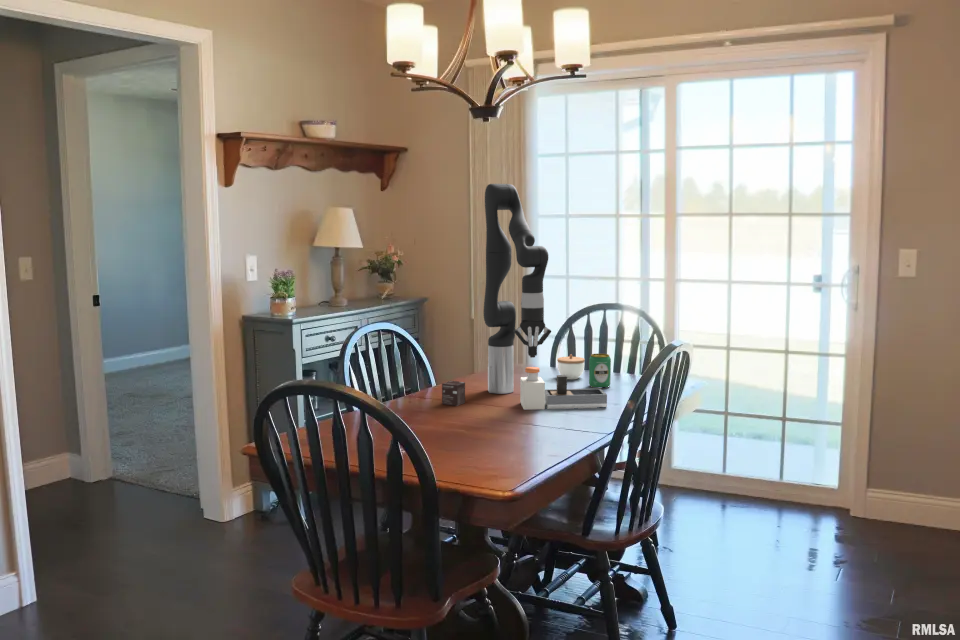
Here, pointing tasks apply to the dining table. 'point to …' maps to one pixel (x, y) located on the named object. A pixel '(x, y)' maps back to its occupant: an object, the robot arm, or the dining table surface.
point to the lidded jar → (571, 366)
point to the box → (453, 393)
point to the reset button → (532, 373)
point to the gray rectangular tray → (576, 399)
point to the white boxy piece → (532, 393)
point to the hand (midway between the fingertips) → (532, 357)
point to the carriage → (561, 386)
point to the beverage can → (599, 370)
